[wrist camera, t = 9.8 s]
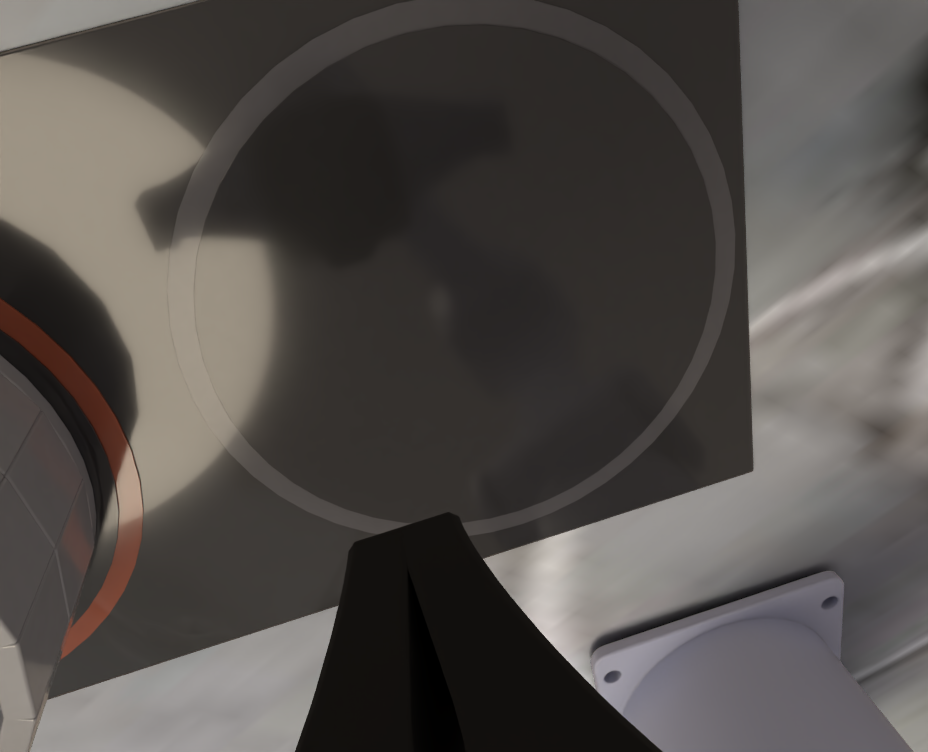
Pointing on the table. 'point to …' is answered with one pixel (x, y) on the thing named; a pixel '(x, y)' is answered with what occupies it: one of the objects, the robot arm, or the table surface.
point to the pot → (37, 551)
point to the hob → (368, 286)
